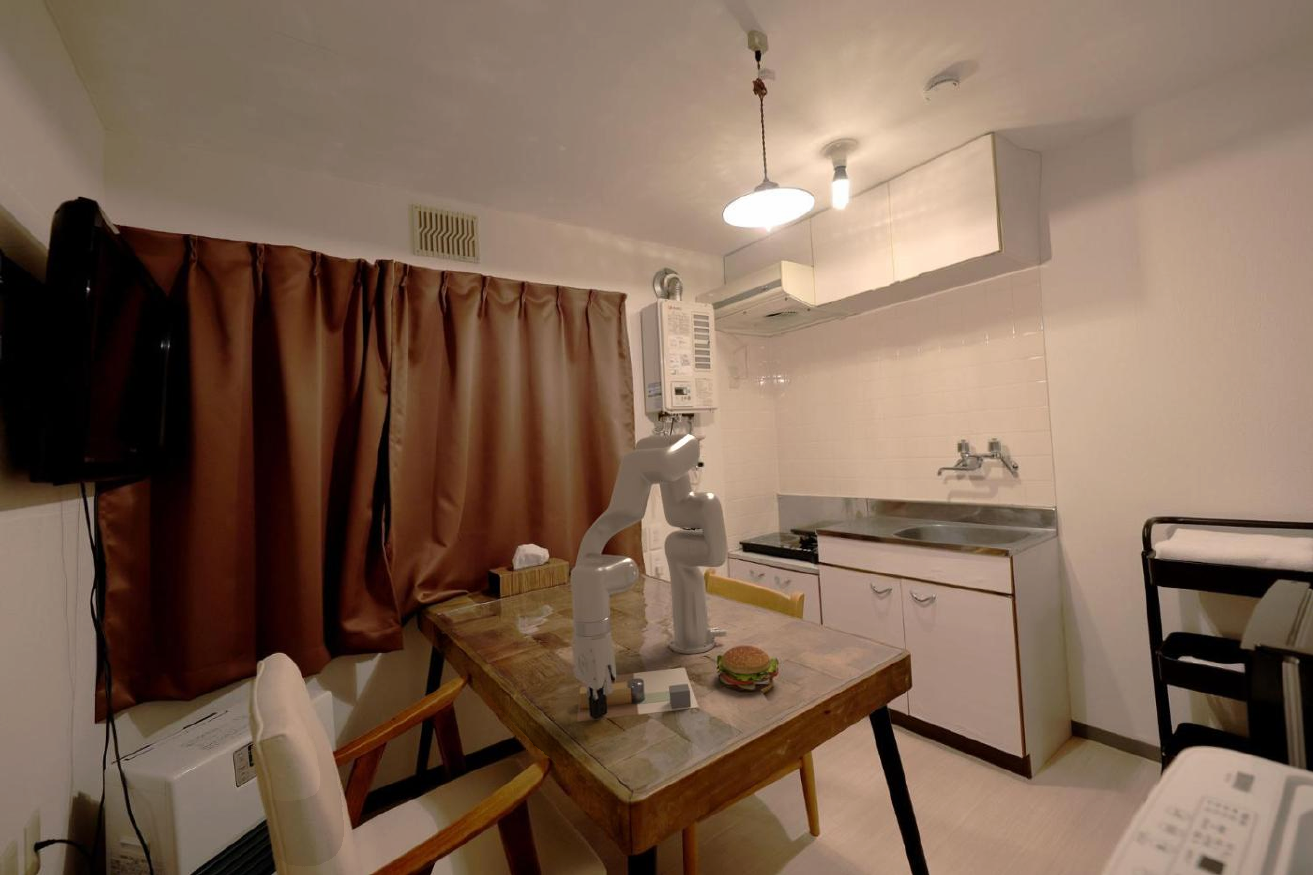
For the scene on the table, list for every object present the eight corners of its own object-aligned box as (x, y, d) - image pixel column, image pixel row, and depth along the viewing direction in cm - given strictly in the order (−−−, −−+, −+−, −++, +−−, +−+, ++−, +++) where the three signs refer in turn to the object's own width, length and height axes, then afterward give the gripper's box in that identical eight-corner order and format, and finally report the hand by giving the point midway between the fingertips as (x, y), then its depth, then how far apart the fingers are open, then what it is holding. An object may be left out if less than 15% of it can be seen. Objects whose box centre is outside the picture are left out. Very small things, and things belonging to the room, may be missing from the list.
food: (793, 686, 114) (790, 650, 114) (742, 705, 108) (740, 667, 108) (754, 664, 126) (751, 632, 126) (706, 680, 120) (704, 646, 120)
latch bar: (644, 693, 112) (643, 677, 112) (645, 702, 109) (644, 685, 109) (581, 701, 111) (580, 684, 111) (580, 709, 107) (579, 692, 108)
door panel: (684, 672, 125) (683, 653, 125) (698, 712, 106) (697, 690, 106) (581, 684, 122) (580, 664, 122) (577, 727, 103) (575, 704, 103)
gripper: (559, 621, 108) (564, 708, 108) (595, 640, 96) (602, 737, 96) (589, 612, 113) (595, 695, 113) (628, 629, 101) (634, 722, 101)
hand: (598, 714), depth 104 cm, fingers closed
